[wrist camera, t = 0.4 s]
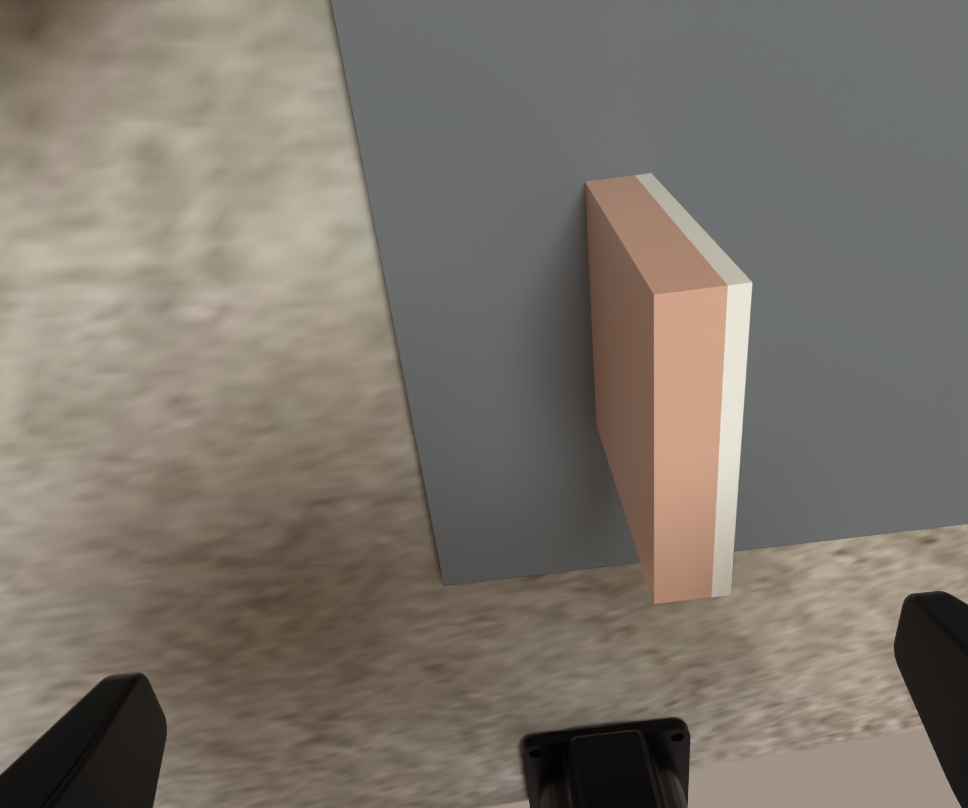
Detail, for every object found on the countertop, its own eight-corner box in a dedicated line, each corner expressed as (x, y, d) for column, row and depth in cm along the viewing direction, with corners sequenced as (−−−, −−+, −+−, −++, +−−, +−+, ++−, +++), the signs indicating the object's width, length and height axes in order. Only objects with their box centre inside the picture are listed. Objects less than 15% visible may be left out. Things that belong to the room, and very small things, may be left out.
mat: (988, 508, 25) (999, 520, 25) (443, 572, 25) (444, 585, 25) (1181, -170, 16) (1206, -174, 15) (324, -54, 16) (320, -55, 16)
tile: (651, 418, 22) (730, 595, 16) (596, 425, 22) (654, 603, 16) (651, 172, 18) (752, 282, 12) (584, 181, 18) (653, 294, 12)
